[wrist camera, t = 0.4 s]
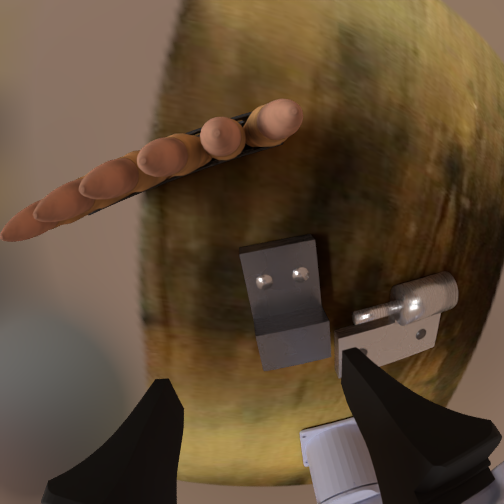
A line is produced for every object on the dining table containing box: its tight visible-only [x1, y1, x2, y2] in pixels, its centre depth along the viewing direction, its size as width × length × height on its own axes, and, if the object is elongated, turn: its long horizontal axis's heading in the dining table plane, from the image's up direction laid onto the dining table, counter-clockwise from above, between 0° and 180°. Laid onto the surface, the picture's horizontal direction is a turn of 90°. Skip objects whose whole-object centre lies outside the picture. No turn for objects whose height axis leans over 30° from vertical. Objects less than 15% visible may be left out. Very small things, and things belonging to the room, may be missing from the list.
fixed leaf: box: [334, 271, 458, 378], centre depth 21 cm, size 8×10×3 cm
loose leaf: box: [239, 234, 331, 371], centre depth 19 cm, size 8×5×3 cm, turn 11°
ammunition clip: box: [0, 99, 303, 242], centre depth 12 cm, size 11×2×12 cm, turn 107°
